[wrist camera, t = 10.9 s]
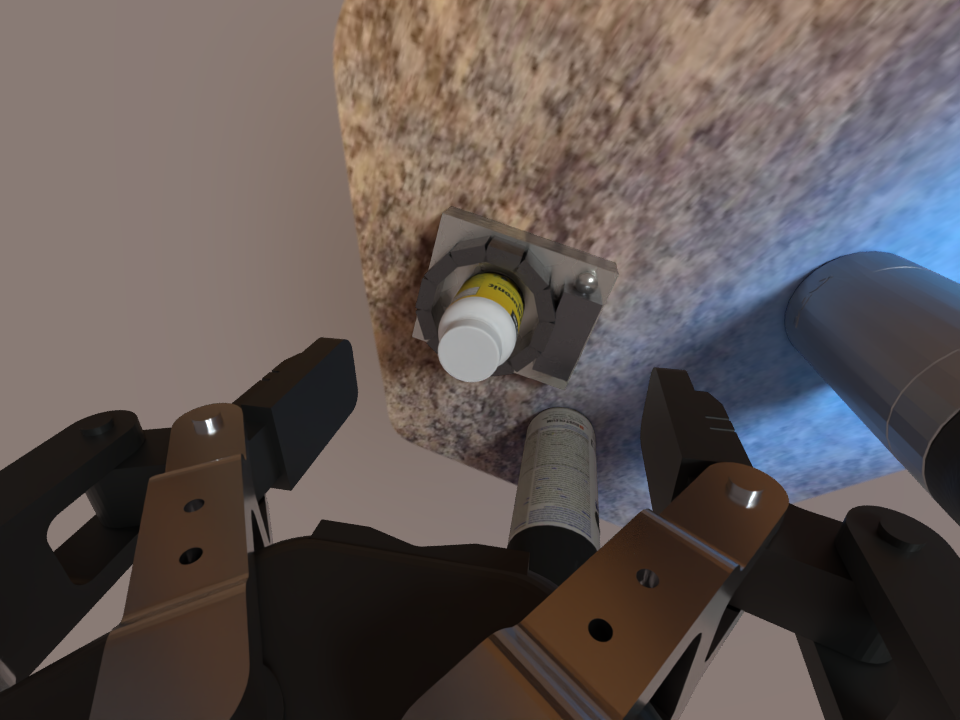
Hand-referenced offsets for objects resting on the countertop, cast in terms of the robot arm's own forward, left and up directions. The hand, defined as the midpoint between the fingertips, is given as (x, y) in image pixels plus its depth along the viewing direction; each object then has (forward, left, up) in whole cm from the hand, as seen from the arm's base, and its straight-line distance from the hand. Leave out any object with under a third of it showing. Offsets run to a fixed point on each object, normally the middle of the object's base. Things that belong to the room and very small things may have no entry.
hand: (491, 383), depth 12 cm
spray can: (-9, +20, -28) cm, 35 cm away
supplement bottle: (+2, +8, -25) cm, 26 cm away
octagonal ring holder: (0, +8, -28) cm, 29 cm away
